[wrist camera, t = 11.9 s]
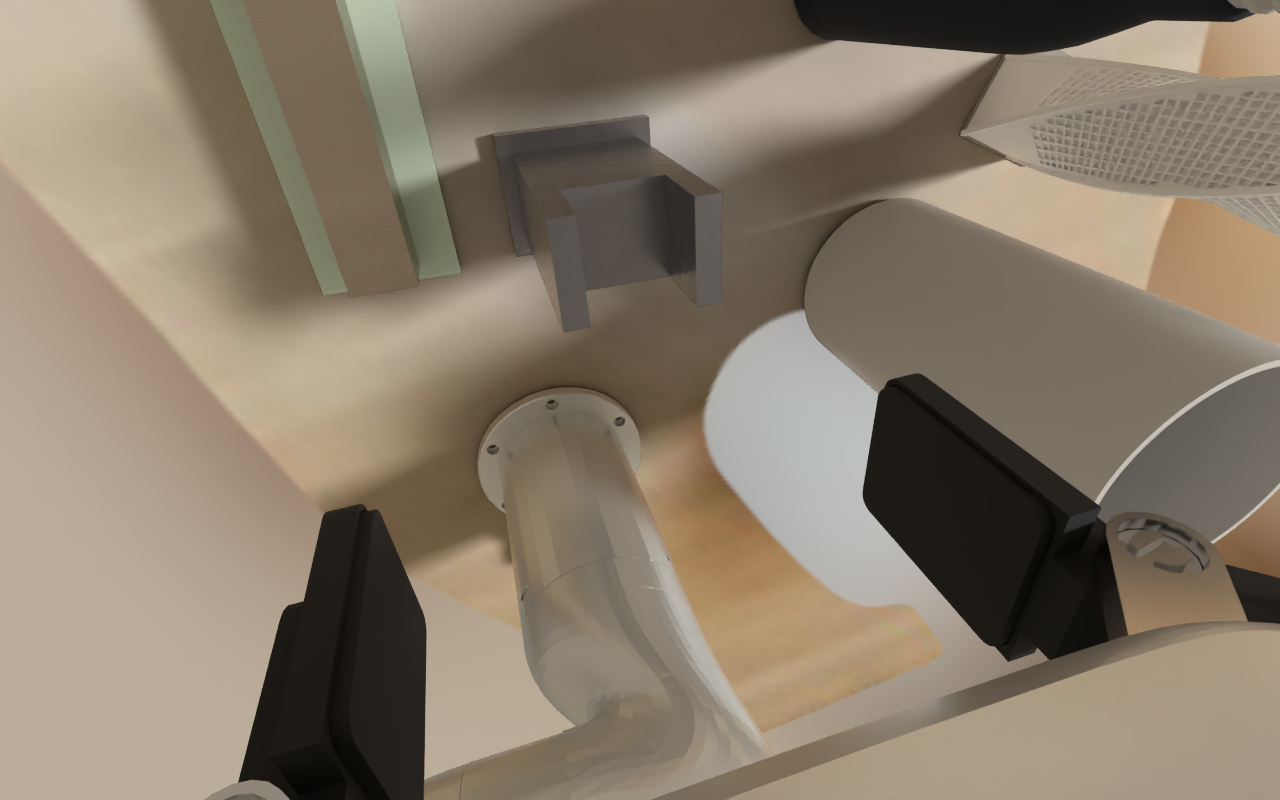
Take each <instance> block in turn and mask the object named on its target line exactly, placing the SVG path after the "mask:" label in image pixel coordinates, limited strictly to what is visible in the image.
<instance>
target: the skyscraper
mask: <svg viewBox="0 0 1280 800" xmlns="http://www.w3.org/2000/svg"><path fill="white" fill-rule="evenodd" d="M959 135H960V136H962V137H964V138H966V139H968V140H970V141H972V142H974V143H976V144H979V145H981V146H983V147H985V148H987V149H989V150H991V151H993V152H995V153H997V154H999V155H1001V156H1003V157H1005V158H1007V159H1009V160H1011V161H1014V162H1016V163H1018V164H1020V165H1022V166H1024V167H1025V166H1026V167H1028V168H1031V169H1033V170H1036V171H1039V172H1042V173H1044V174H1047V175H1050V176H1053V177H1056V178H1059V179H1062V180H1066V181H1069V182H1072V183H1076V184H1080V185H1084V186H1088V187H1092V188H1098V189H1103V190H1108V191H1113V192H1120V193H1128V194H1135V195H1145V196H1156V197H1172V198H1194V199H1198V200H1202V201H1206V202H1209V203H1213V204H1216V205H1218V206H1220V207H1222V208H1224V209H1226V210H1228V211H1229V212H1231V213H1233V214H1235V215H1237V216H1239V217H1241V218H1243V219H1245V220H1247V221H1249V222H1251V223H1253V224H1255V225H1257V226H1259V227H1261V228H1263V229H1266V230H1268V231H1270V232H1272V233H1274V234H1277V235H1279V236H1280V75H1275V76H1252V77H1238V78H1225V79H1221V78H1217V77H1211V76H1207V75H1202V74H1196V73H1190V72H1184V71H1179V70H1173V69H1167V68H1160V67H1152V66H1145V65H1138V64H1131V63H1122V62H1114V61H1105V60H1096V59H1086V58H1075V57H1071V56H1069V55H1068V54H1066V53H1065V52H1063V51H1061V50H1060V49H1059V50H1054V51H1049V52H1041V53H1034V54H1027V55H1008V54H1003V56H1002V58H1001V60H1000V62H999V63H998V65H997V67H996V69H995V71H994V72H993V74H992V76H991V78H990V80H989V82H988V83H987V85H986V87H985V89H984V91H983V92H982V94H981V96H980V98H979V100H978V102H977V103H976V105H975V107H974V109H973V111H972V112H971V114H970V116H969V118H968V120H967V122H966V123H965V125H964V127H963V129H962V130H961V132H960V134H959Z"/></svg>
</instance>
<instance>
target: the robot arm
mask: <svg viewBox="0 0 1280 800" xmlns="http://www.w3.org/2000/svg"><path fill="white" fill-rule="evenodd" d="M549 400H551V401H549ZM640 459H641V441H640V436H639V432H638V430H637V428H636V426H635V423H634V421H633V420H632V418H631V417H630V415H629V413H628V412H627V411H626V410H625V409H624V408H623V407H622V406H621V405H620V404H619V403H618V402H617V401H615V400H613V399H612V398H610V397H608V396H607V395H605V394H602V393H599V392H597V391H594V390H590V389H584V388H578V387H560V388H554V389H548V390H543V391H540V392H537V393H534V394H531V395H528V396H526V397H524V398H523V399H521V400H519V401H517V402H515V403H513V404H512V405H511V406H509V407H508V408H507V409H505V410H504V411H503V412H502V413H500V414H499V416H498V417H497V418H496V419H495V420H494V421H493V422H492V423H491V424H490V426H489V428H488V429H487V431H486V433H485V434H484V436H483V438H482V441H481V444H480V447H479V450H478V460H477V466H478V477H479V480H480V484H481V487H482V489H483V491H484V493H485V494H486V496H487V498H488V499H489V500H490V501H491V502H492V504H493V505H494V506H495V507H496V508H497V509H499V510H500V511H502V512H503V513H505V514H506V520H507V527H508V534H509V542H510V549H511V556H512V563H513V570H514V577H515V584H516V591H517V599H518V606H519V613H520V620H521V627H522V636H523V642H524V650H525V655H526V660H527V663H528V666H529V668H530V671H531V674H532V676H533V679H534V680H535V682H536V684H537V685H538V687H539V689H540V690H541V692H542V693H543V694H544V696H545V697H546V698H547V699H548V700H549V702H550V703H551V704H552V705H553V706H554V707H555V708H556V709H557V710H558V711H559V712H560V713H561V714H562V715H563V716H565V717H566V718H567V719H568V720H569V721H570V722H572V723H573V724H574V725H575V726H576V727H573V728H571V729H568V730H565V731H563V733H560V734H557V735H554V736H551V737H548V738H544V739H541V740H538V741H535V742H532V743H529V744H526V745H522V746H520V747H516V748H513V749H510V750H507V751H504V752H501V753H498V754H494V755H491V756H489V757H485V758H482V759H479V760H476V761H473V762H470V763H468V764H465V765H462V766H459V767H456V768H453V769H450V770H447V771H445V772H443V773H440V774H437V775H435V776H432V777H430V778H428V779H426V780H424V757H425V756H424V753H425V691H426V623H425V618H424V614H423V611H422V609H421V607H420V604H419V602H418V600H417V597H416V595H415V593H414V590H413V588H412V586H411V583H410V581H409V579H408V576H407V574H406V572H405V569H404V567H403V565H402V562H401V560H400V558H399V556H398V553H397V551H396V549H395V546H394V544H393V542H392V539H391V537H390V535H389V532H388V530H387V528H386V525H385V523H384V521H383V518H382V516H381V514H380V512H379V511H378V510H376V509H375V510H371V511H367V509H366V507H365V506H364V505H363V504H358V505H354V506H350V507H346V508H341V509H337V510H333V511H329V512H326V513H325V514H324V516H323V518H322V523H321V528H320V531H319V536H318V540H317V545H316V549H315V554H314V558H313V563H312V567H311V571H310V576H309V580H308V585H307V589H306V593H305V598H304V601H303V602H299V603H296V604H292V605H288V606H287V607H286V608H285V610H284V611H283V613H282V616H281V619H280V622H279V626H278V630H277V633H276V637H275V642H274V645H273V649H272V653H271V657H270V661H269V665H268V669H267V672H266V676H265V680H264V684H263V688H262V692H261V696H260V699H259V703H258V707H257V711H256V715H255V719H254V723H253V727H252V731H251V734H250V738H249V742H248V746H247V751H246V754H245V758H244V762H243V766H242V769H241V773H240V777H239V782H238V783H236V784H232V785H230V786H228V787H226V788H224V789H222V790H220V791H218V792H216V793H214V794H212V795H210V796H209V797H208V798H206V799H205V800H1280V578H1276V577H1273V576H1269V575H1265V574H1261V573H1257V572H1253V571H1249V570H1245V569H1242V568H1238V567H1234V566H1230V565H1226V564H1225V563H1224V561H1223V559H1222V556H1221V555H1220V553H1219V552H1218V550H1217V549H1216V547H1215V546H1214V545H1213V544H1212V543H1211V542H1210V541H1209V540H1208V539H1206V538H1205V537H1204V536H1203V535H1202V534H1200V533H1198V532H1197V531H1195V530H1194V529H1192V528H1190V527H1189V526H1187V525H1185V524H1182V523H1180V522H1178V521H1175V520H1173V519H1171V518H1168V517H1164V516H1160V515H1157V514H1153V513H1145V512H1125V513H1120V514H1118V515H1116V516H1113V517H1112V518H1111V519H1110V520H1109V521H1108V523H1107V524H1106V523H1105V522H1103V521H1102V520H1101V519H1100V518H1098V517H1097V516H1098V514H1099V512H1100V510H1101V506H1099V505H1098V504H1097V503H1095V502H1094V501H1093V500H1091V499H1090V498H1088V497H1087V496H1086V495H1084V494H1083V493H1082V492H1080V491H1079V490H1078V489H1076V488H1075V487H1074V486H1072V485H1071V484H1070V483H1068V482H1067V481H1066V480H1064V479H1063V478H1062V477H1060V476H1059V475H1058V474H1056V473H1055V472H1053V471H1052V470H1051V469H1049V468H1048V467H1047V466H1045V465H1044V464H1043V463H1041V462H1040V461H1039V460H1037V459H1036V458H1035V457H1033V456H1032V455H1031V454H1029V453H1028V452H1027V451H1025V450H1024V449H1023V448H1021V447H1020V446H1018V445H1017V444H1016V443H1014V442H1013V441H1012V440H1010V439H1009V438H1008V437H1006V436H1005V435H1004V434H1002V433H1001V432H1000V431H998V430H997V429H996V428H994V427H993V426H992V425H990V424H989V423H988V422H986V421H985V420H983V419H982V418H981V417H979V416H978V415H977V414H975V413H974V412H973V411H971V410H970V409H969V408H967V407H966V406H965V405H963V404H962V403H961V402H959V401H958V400H957V399H955V398H954V397H953V396H951V395H950V394H948V393H947V392H946V391H944V390H943V389H942V388H940V387H939V386H938V385H936V384H935V383H934V382H932V381H931V380H930V379H928V378H927V377H926V376H924V375H922V374H919V373H915V374H911V375H906V376H902V377H898V378H894V379H891V380H888V381H887V383H886V384H885V387H884V389H882V390H881V391H880V392H879V395H878V400H877V406H876V413H875V419H874V425H873V431H872V437H871V443H870V450H869V455H868V462H867V469H866V474H865V481H864V486H863V499H864V503H865V505H866V507H867V509H868V510H869V511H870V512H871V514H872V515H873V516H874V517H875V518H876V519H877V520H878V522H879V523H880V524H881V525H882V526H883V527H884V528H885V530H886V531H887V532H888V533H889V534H890V535H891V537H892V538H893V539H894V540H895V541H896V542H897V543H898V544H899V546H900V547H901V548H902V549H903V550H904V551H905V553H906V554H907V555H908V556H909V557H910V558H911V559H912V561H913V562H914V563H915V564H916V565H917V566H918V568H919V569H920V570H921V571H922V572H923V573H924V575H925V576H926V577H927V578H928V579H929V580H930V581H931V583H932V584H933V585H934V586H935V587H936V588H937V589H938V591H939V592H940V593H941V594H942V595H943V596H944V597H945V599H946V600H947V601H948V602H949V603H950V604H951V605H952V607H953V608H954V609H955V610H956V611H957V612H958V614H959V615H960V616H961V617H962V618H963V619H964V620H965V622H966V623H967V624H968V625H969V626H970V627H971V629H972V630H973V631H974V632H975V633H976V634H977V635H978V636H979V638H980V639H981V640H982V641H983V642H985V643H986V644H988V645H989V646H995V647H996V648H997V650H998V651H999V652H1000V653H1001V654H1002V655H1003V656H1004V657H1005V659H1006V660H1007V661H1008V662H1009V661H1012V660H1015V659H1018V658H1021V657H1024V656H1027V655H1030V654H1032V653H1035V651H1036V649H1037V647H1038V649H1039V650H1041V652H1042V653H1043V654H1044V655H1045V656H1046V657H1047V661H1046V662H1043V663H1040V664H1037V665H1034V666H1031V667H1029V668H1026V669H1023V670H1020V671H1017V672H1014V673H1011V674H1008V675H1005V676H1002V677H999V678H996V679H994V680H991V681H988V682H985V683H982V684H979V685H976V686H973V687H970V688H967V689H964V690H961V691H959V692H956V693H953V694H950V695H947V696H944V697H942V698H938V699H935V700H932V701H929V702H927V703H924V704H921V705H918V706H915V707H912V708H909V709H907V710H903V711H901V712H898V713H895V714H892V715H889V716H886V717H883V718H881V719H878V720H875V721H872V722H869V723H866V724H864V725H861V726H858V727H855V728H852V729H849V730H846V731H843V732H841V733H838V734H835V735H832V736H829V737H826V738H823V739H820V740H818V741H815V742H812V743H809V744H806V745H803V746H801V747H798V748H795V749H792V750H789V751H786V752H783V753H781V754H778V755H776V754H775V752H774V751H773V749H772V747H771V746H770V744H769V742H768V741H767V740H766V738H765V737H764V735H763V733H762V732H761V730H760V729H759V727H758V726H757V724H756V723H755V721H754V720H753V718H752V717H751V715H750V714H749V712H748V711H747V709H746V707H745V706H744V704H743V703H742V701H741V700H740V698H739V697H738V695H737V694H736V692H735V690H734V689H733V687H732V686H731V684H730V682H729V681H728V679H727V677H726V675H725V674H724V672H723V670H722V668H721V667H720V665H719V663H718V661H717V660H716V658H715V656H714V654H713V652H712V650H711V648H710V646H709V644H708V642H707V640H706V638H705V636H704V634H703V632H702V630H701V627H700V625H699V623H698V621H697V619H696V616H695V614H694V612H693V610H692V607H691V605H690V603H689V600H688V598H687V596H686V593H685V591H684V589H683V586H682V584H681V581H680V579H679V577H678V574H677V572H676V570H675V567H674V565H673V563H672V560H671V558H670V556H669V553H668V551H667V549H666V546H665V544H664V542H663V539H662V537H661V535H660V532H659V530H658V528H657V525H656V523H655V521H654V518H653V516H652V514H651V511H650V509H649V507H648V504H647V502H646V499H645V497H644V495H643V492H642V490H641V488H640V485H639V483H638V481H637V478H636V476H635V474H636V472H637V470H638V467H639V463H640Z"/></svg>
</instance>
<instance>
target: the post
mask: <svg viewBox="0 0 1280 800" xmlns="http://www.w3.org/2000/svg"><path fill="white" fill-rule="evenodd" d="M493 138H494V143H495V149H496V154H497V159H498V164H499V170H500V175H501V180H502V185H503V191H504V196H505V201H506V206H507V212H508V217H509V222H510V228H511V233H512V238H513V243H514V249H515V253H516V256H517V257H520V256H526V255H532V254H533V256H534V259H535V261H536V264H537V267H538V269H539V272H540V274H541V277H542V279H543V282H544V284H545V287H546V289H547V292H548V294H549V297H550V299H551V302H552V305H553V307H554V310H555V312H556V315H557V317H558V320H559V322H560V325H561V327H562V330H563V332H569V331H574V330H579V329H585V328H590V322H589V314H588V306H587V298H586V291H588V290H593V289H599V288H605V287H610V286H616V285H621V284H627V283H633V282H638V281H644V280H650V279H655V278H661V277H666V276H670V277H671V278H672V279H673V280H674V282H675V283H676V284H677V285H678V286H679V287H680V288H681V290H682V291H683V292H684V293H685V294H686V295H687V297H688V298H689V299H690V300H691V301H692V302H693V303H694V305H695V306H696V307H701V306H706V305H711V304H717V303H721V274H722V192H721V191H719V190H718V189H716V188H714V187H713V186H711V185H710V184H708V183H707V182H705V181H704V180H702V179H701V178H699V177H698V176H696V175H694V174H693V173H691V172H690V171H688V170H687V169H685V168H684V167H682V166H681V165H679V164H678V163H676V162H675V161H673V160H671V159H670V158H668V157H667V156H665V155H664V154H662V153H661V152H659V151H658V150H656V149H655V148H653V147H652V146H650V128H649V117H648V116H646V115H641V116H633V117H625V118H617V119H609V120H601V121H593V122H585V123H576V124H568V125H560V126H552V127H544V128H536V129H528V130H520V131H512V132H504V133H496V134H493Z"/></svg>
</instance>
